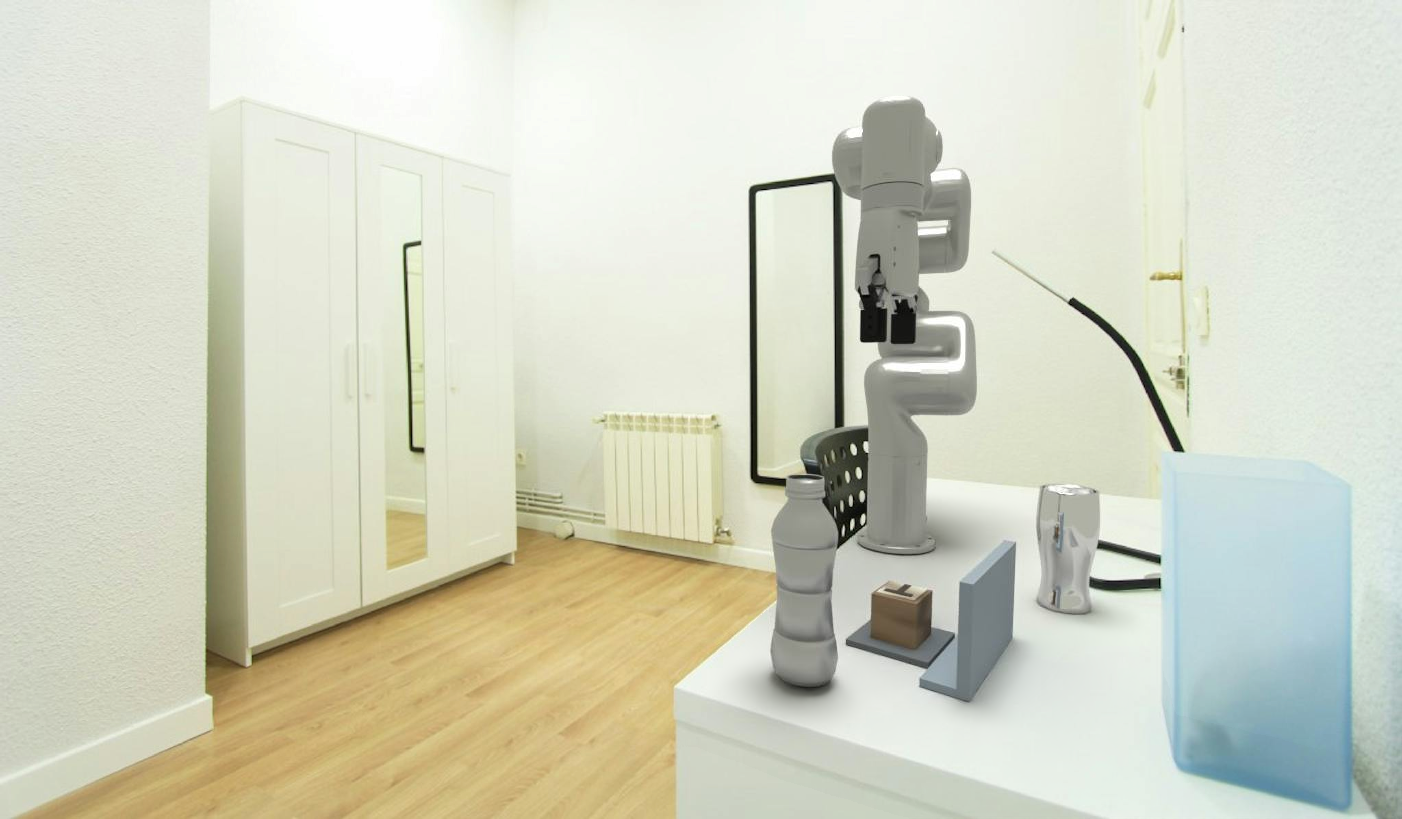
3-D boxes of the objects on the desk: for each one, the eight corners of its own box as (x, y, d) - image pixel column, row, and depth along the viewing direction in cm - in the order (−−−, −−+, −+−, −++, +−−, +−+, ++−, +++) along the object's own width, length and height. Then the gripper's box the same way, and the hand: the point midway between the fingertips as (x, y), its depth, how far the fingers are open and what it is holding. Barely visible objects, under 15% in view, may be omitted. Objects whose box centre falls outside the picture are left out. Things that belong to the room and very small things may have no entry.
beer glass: (1105, 617, 77) (1111, 495, 76) (1042, 613, 78) (1048, 493, 77) (1083, 596, 84) (1088, 484, 83) (1025, 593, 85) (1030, 482, 84)
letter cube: (888, 622, 74) (889, 578, 74) (931, 633, 71) (932, 587, 71) (870, 637, 70) (871, 590, 70) (915, 649, 67) (916, 601, 67)
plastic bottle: (797, 702, 58) (799, 486, 56) (757, 670, 64) (758, 474, 62) (852, 686, 61) (855, 480, 59) (808, 656, 67) (811, 469, 65)
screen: (969, 627, 74) (972, 534, 73) (1012, 637, 71) (1016, 541, 71) (919, 685, 61) (922, 573, 60) (969, 701, 58) (973, 584, 57)
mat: (878, 618, 77) (878, 613, 77) (954, 637, 71) (955, 632, 71) (845, 644, 70) (845, 638, 70) (928, 668, 64) (928, 662, 64)
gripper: (889, 221, 89) (886, 345, 90) (832, 196, 75) (830, 342, 76) (944, 213, 84) (940, 344, 85) (894, 185, 70) (891, 341, 72)
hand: (888, 343), depth 81 cm, fingers open, 9 cm apart
